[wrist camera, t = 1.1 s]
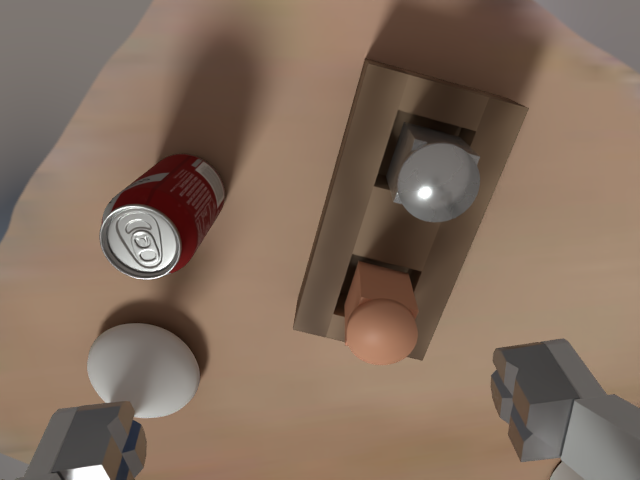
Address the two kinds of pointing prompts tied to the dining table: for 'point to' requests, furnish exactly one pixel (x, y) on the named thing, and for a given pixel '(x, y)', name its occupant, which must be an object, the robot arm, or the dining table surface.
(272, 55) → the dining table surface
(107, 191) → the dining table surface
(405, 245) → the walnut block
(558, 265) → the dining table surface
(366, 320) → the terracotta plunger
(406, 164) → the metal plunger
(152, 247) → the soda can
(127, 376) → the flower in vase
